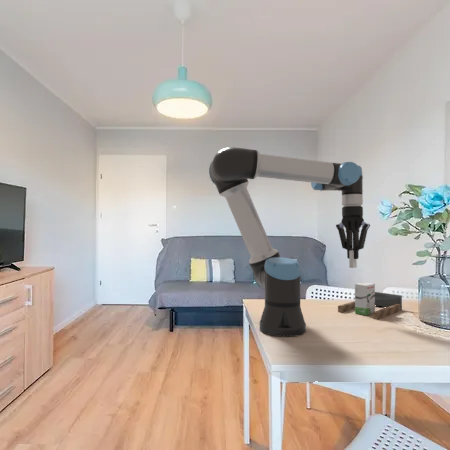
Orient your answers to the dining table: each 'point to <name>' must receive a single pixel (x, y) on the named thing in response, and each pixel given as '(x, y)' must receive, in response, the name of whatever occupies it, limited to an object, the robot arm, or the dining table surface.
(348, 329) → the dining table surface
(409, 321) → the dining table surface
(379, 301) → the guide channel
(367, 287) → the ink box
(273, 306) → the robot arm
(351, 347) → the dining table surface
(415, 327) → the dining table surface
